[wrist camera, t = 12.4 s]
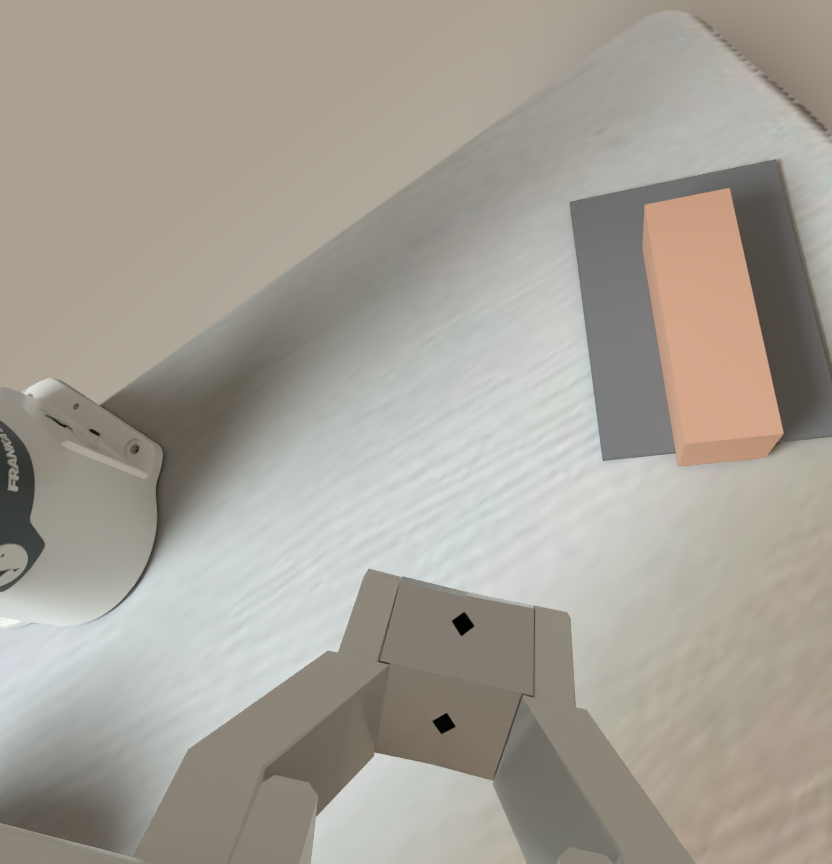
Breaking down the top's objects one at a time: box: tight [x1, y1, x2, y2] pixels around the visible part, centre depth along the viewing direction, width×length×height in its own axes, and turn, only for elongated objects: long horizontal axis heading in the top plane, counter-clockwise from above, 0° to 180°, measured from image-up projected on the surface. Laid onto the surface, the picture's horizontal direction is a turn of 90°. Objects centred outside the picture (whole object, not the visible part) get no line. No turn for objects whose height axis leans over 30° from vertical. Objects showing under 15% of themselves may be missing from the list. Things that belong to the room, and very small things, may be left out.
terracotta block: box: [642, 188, 784, 466], centre depth 41 cm, size 5×5×16 cm
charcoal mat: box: [570, 160, 832, 461], centre depth 44 cm, size 20×14×1 cm
